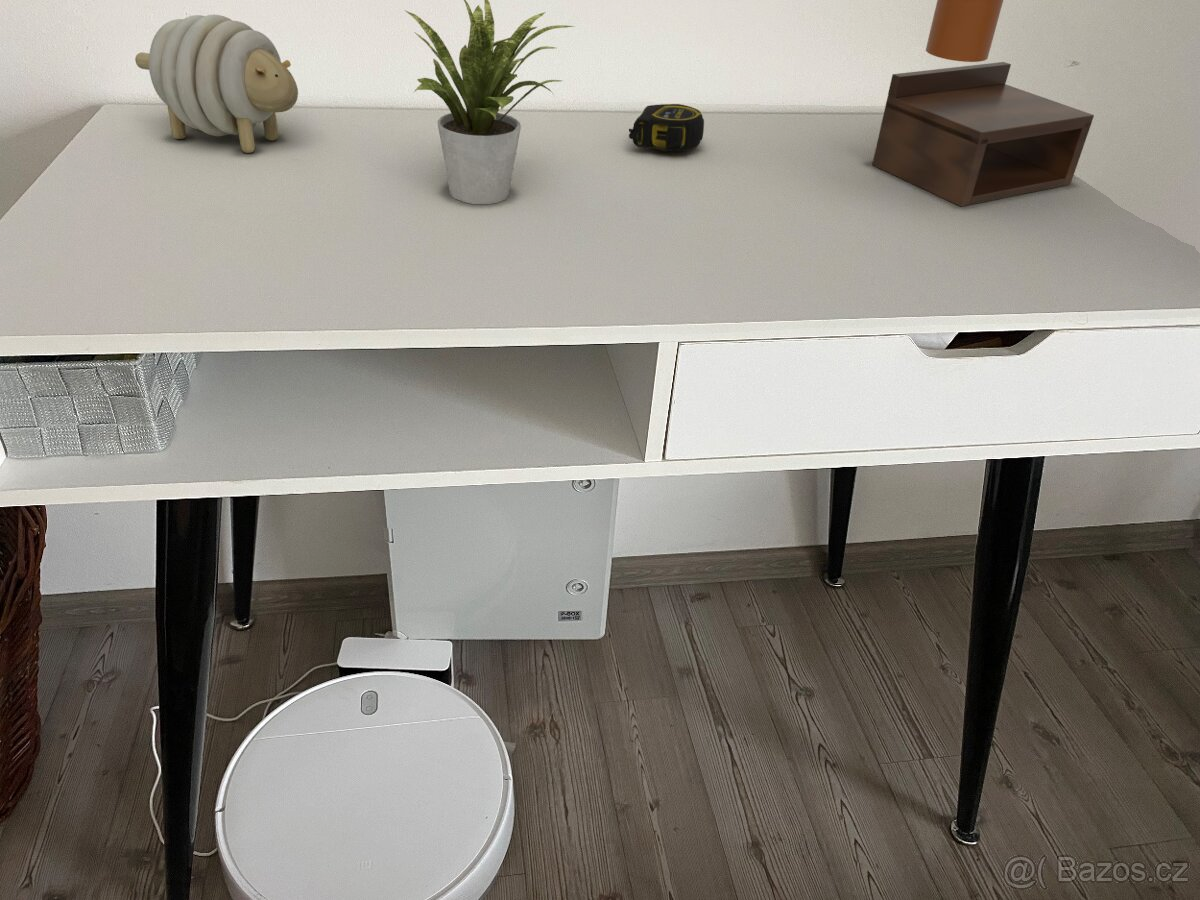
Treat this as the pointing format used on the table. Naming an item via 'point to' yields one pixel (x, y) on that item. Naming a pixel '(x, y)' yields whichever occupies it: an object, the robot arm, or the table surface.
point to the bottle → (963, 29)
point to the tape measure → (668, 127)
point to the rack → (977, 135)
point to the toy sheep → (219, 77)
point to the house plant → (480, 106)
